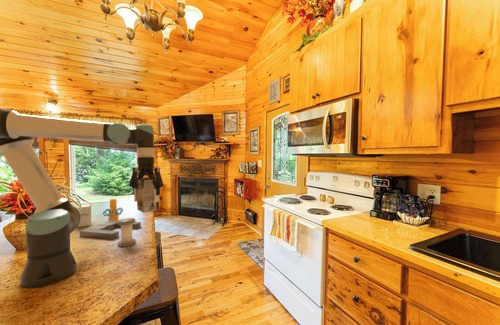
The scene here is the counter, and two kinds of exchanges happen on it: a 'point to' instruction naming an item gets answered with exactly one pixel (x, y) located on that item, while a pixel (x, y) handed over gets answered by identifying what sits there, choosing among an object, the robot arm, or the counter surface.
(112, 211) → the grey orange looped piece
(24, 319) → the counter surface
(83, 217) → the supplement box
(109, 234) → the notched board
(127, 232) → the spool
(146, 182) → the coffee box
